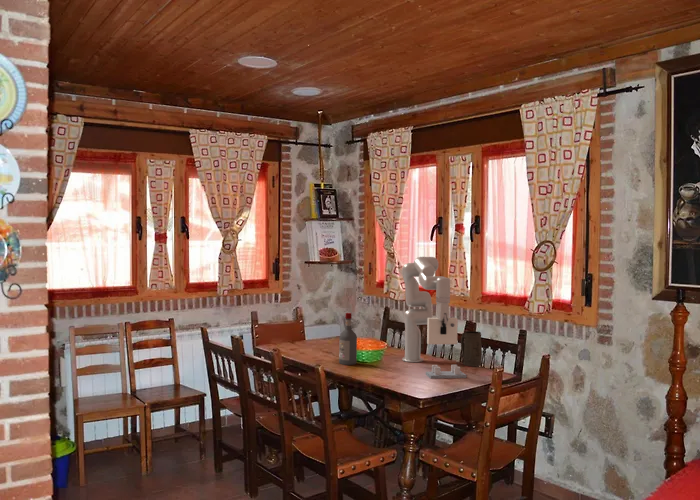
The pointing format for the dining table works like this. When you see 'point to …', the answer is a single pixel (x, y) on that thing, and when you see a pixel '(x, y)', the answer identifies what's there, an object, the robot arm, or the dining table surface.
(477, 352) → the beer stein
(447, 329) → the cabinet door
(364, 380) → the dining table surface
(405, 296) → the robot arm
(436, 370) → the hinge plate
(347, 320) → the liquor
